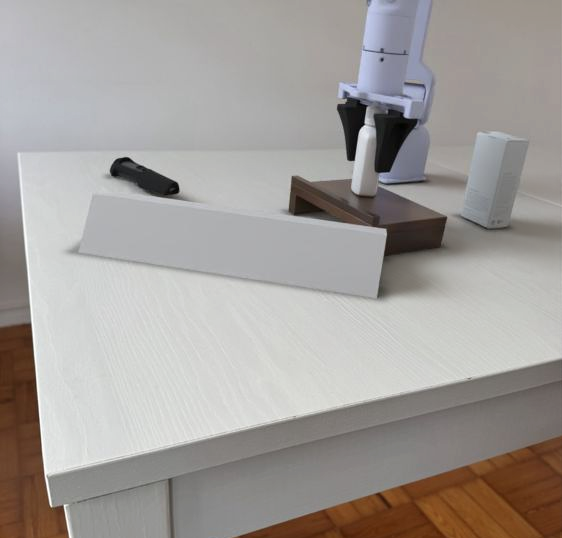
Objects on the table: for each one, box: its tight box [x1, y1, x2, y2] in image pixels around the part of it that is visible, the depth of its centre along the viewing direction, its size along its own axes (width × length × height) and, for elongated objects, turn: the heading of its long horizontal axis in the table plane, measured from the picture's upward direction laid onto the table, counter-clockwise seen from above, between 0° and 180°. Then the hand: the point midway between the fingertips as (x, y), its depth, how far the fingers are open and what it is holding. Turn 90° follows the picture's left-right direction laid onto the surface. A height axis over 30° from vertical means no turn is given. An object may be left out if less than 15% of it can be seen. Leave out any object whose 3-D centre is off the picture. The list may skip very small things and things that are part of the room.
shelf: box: [287, 175, 448, 256], centre depth 78 cm, size 12×18×5 cm, turn 31°
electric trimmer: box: [109, 156, 181, 196], centre depth 87 cm, size 4×16×3 cm, turn 42°
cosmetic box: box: [460, 130, 530, 229], centre depth 84 cm, size 6×4×12 cm
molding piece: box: [77, 191, 387, 299], centre depth 69 cm, size 32×12×10 cm
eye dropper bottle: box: [351, 101, 386, 197], centre depth 78 cm, size 4×6×12 cm
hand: (367, 166), depth 79 cm, fingers closed on eye dropper bottle, 5 cm apart
